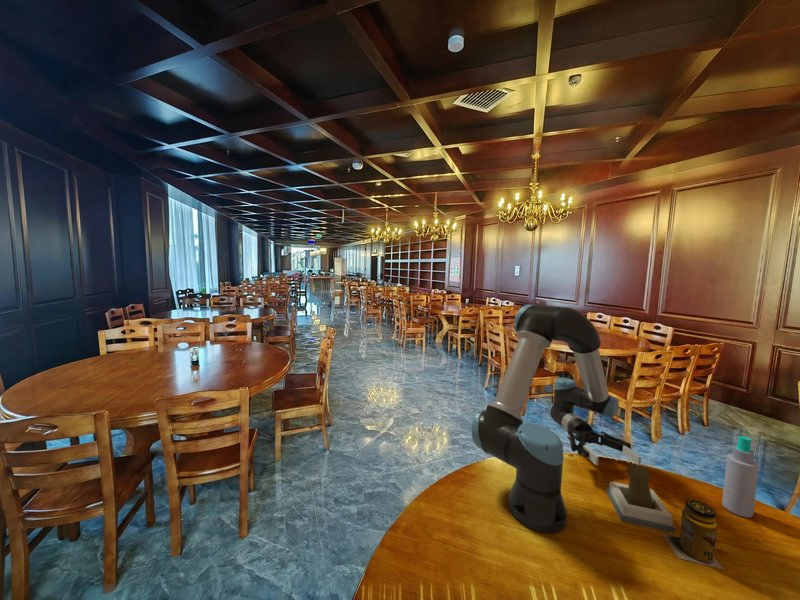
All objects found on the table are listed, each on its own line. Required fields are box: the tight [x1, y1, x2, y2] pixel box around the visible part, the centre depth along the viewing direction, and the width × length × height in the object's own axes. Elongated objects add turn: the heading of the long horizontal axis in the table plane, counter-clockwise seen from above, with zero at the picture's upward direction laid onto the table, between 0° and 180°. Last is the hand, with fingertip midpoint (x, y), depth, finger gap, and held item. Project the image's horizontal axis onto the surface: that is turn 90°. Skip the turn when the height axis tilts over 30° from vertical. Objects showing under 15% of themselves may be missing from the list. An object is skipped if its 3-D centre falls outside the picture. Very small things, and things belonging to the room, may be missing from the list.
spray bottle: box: [721, 435, 760, 519], centre depth 87 cm, size 6×6×22 cm
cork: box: [626, 463, 654, 509], centre depth 87 cm, size 6×6×11 cm
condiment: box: [662, 498, 724, 569], centre depth 74 cm, size 7×8×12 cm
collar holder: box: [606, 481, 676, 534], centre depth 87 cm, size 12×12×4 cm
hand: (618, 461), depth 95 cm, fingers open, 13 cm apart
